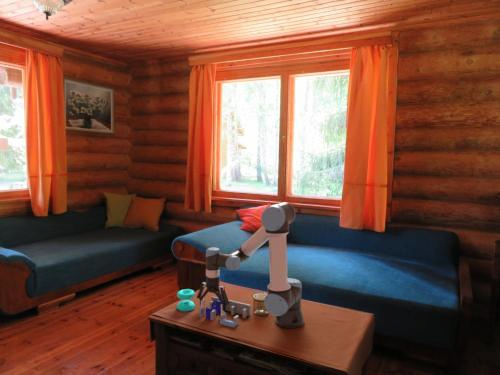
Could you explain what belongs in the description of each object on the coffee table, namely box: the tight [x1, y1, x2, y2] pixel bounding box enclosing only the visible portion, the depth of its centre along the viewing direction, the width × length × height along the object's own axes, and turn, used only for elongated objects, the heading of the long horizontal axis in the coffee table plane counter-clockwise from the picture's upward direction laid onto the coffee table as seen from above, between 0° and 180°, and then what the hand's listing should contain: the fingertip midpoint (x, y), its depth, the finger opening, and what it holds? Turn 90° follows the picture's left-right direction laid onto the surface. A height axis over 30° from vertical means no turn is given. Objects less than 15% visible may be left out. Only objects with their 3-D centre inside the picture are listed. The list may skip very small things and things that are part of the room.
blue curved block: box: [205, 300, 221, 320], centre depth 202 cm, size 12×4×6 cm, turn 152°
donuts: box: [176, 288, 196, 312], centre depth 208 cm, size 10×10×10 cm
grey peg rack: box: [198, 295, 252, 328], centre depth 199 cm, size 25×16×6 cm, turn 64°
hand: (212, 313), depth 203 cm, fingers open, 12 cm apart
